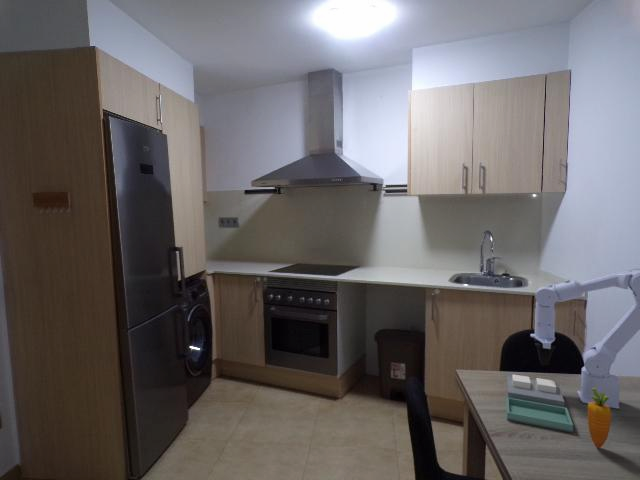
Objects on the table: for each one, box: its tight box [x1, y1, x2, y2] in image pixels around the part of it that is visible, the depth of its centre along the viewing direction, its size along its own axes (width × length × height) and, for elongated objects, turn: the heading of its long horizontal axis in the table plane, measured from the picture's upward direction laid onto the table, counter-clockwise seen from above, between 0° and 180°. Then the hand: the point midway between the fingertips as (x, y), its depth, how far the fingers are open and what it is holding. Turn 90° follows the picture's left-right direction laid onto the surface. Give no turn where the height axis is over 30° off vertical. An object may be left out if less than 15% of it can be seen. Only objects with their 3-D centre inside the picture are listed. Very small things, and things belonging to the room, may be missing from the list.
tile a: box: [535, 377, 556, 393], centre depth 119 cm, size 5×5×2 cm
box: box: [505, 396, 574, 434], centre depth 108 cm, size 16×10×2 cm, turn 65°
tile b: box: [511, 374, 531, 389], centre depth 122 cm, size 5×5×2 cm
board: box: [506, 375, 565, 407], centre depth 120 cm, size 15×13×4 cm
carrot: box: [587, 388, 612, 449], centre depth 94 cm, size 5×5×15 cm
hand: (543, 362), depth 125 cm, fingers open, 3 cm apart
